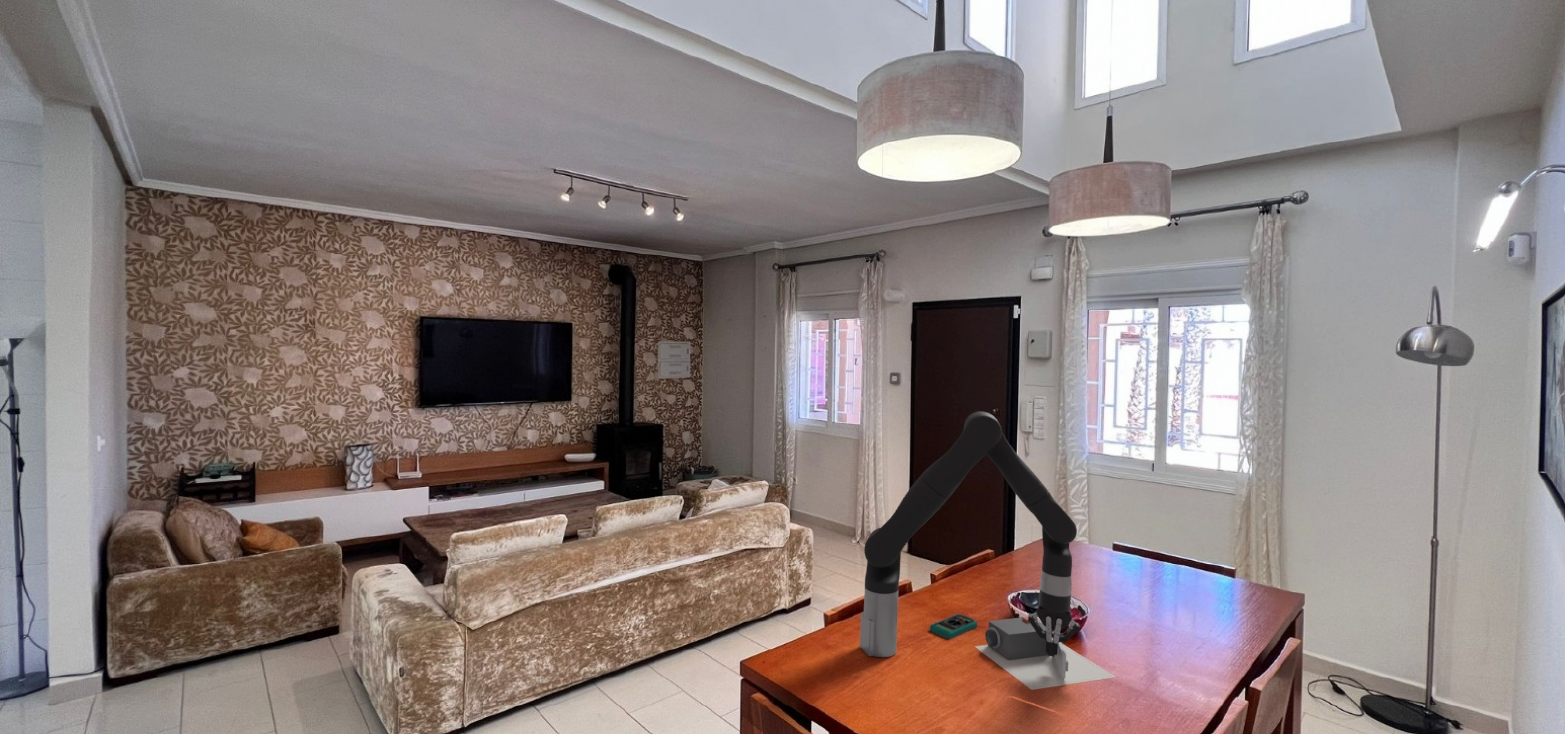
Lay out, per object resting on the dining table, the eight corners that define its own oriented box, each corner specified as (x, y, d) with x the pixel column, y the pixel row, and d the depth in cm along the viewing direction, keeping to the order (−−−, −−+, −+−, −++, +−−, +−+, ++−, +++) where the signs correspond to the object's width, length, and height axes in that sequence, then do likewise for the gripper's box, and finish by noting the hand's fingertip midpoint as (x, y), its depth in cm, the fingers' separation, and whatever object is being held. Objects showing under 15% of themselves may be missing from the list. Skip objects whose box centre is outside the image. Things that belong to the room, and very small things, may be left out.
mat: (1031, 691, 156) (1031, 689, 156) (974, 647, 179) (974, 646, 179) (1116, 678, 164) (1116, 677, 164) (1051, 638, 187) (1051, 637, 187)
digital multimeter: (978, 629, 193) (979, 619, 193) (949, 642, 183) (949, 632, 183) (957, 621, 199) (958, 611, 198) (928, 633, 189) (928, 623, 189)
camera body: (1003, 661, 171) (1004, 632, 171) (983, 646, 179) (984, 618, 179) (1051, 654, 175) (1052, 626, 175) (1029, 640, 184) (1030, 613, 184)
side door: (1052, 654, 175) (1053, 630, 175) (1058, 654, 175) (1059, 631, 175) (1061, 679, 162) (1061, 654, 161) (1067, 680, 161) (1068, 655, 161)
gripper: (1027, 589, 164) (1023, 655, 165) (1084, 599, 160) (1080, 667, 160) (1028, 580, 171) (1024, 643, 172) (1082, 589, 167) (1078, 654, 167)
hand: (1051, 655), depth 166 cm, fingers closed
